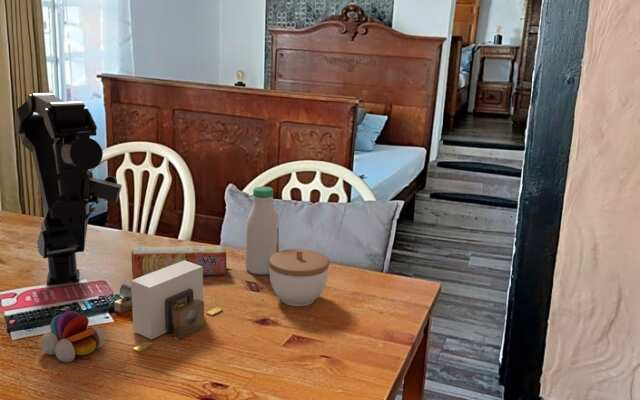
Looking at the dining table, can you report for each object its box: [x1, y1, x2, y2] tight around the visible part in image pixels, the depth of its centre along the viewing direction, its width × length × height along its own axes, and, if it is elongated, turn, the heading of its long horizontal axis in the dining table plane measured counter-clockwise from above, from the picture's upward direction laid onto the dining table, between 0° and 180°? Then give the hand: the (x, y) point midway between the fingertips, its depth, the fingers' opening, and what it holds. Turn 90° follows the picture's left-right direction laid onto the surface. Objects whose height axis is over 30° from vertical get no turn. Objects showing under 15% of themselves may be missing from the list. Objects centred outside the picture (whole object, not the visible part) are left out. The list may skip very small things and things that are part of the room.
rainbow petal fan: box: [39, 310, 106, 363], centre depth 104 cm, size 8×10×7 cm
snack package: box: [130, 245, 227, 279], centre depth 138 cm, size 21×7×7 cm, turn 102°
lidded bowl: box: [269, 248, 330, 307], centre depth 127 cm, size 13×13×11 cm
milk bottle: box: [245, 186, 280, 276], centre depth 141 cm, size 8×8×20 cm
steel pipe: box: [113, 281, 224, 353], centre depth 117 cm, size 19×21×6 cm
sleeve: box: [130, 260, 204, 340], centre depth 114 cm, size 6×13×10 cm, turn 146°
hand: (81, 246), depth 118 cm, fingers closed
